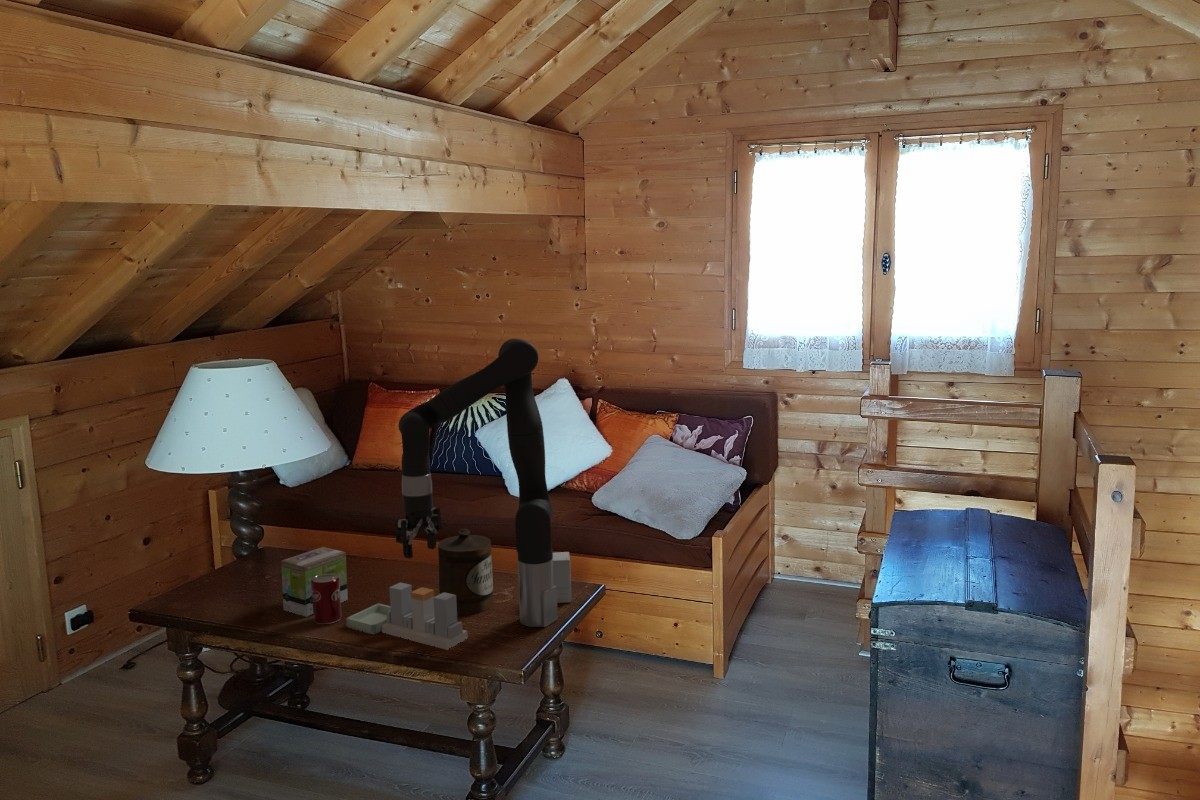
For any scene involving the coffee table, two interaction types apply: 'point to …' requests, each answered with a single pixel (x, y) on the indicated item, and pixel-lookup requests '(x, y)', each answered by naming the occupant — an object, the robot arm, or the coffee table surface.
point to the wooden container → (466, 571)
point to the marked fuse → (422, 607)
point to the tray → (369, 619)
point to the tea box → (310, 577)
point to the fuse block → (438, 629)
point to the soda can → (326, 598)
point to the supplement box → (562, 576)
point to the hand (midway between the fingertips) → (420, 553)
